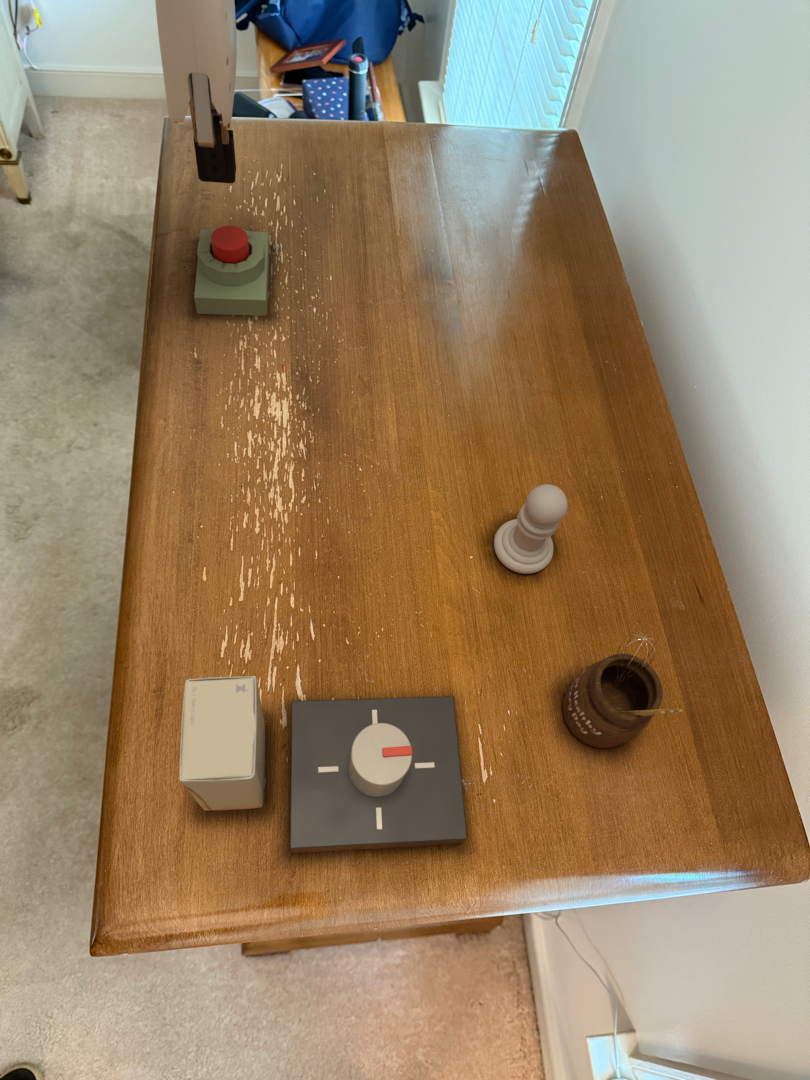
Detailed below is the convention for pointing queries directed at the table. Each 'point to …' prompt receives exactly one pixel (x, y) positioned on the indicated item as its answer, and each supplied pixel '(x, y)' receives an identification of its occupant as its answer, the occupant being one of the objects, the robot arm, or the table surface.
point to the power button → (230, 244)
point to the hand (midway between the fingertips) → (217, 176)
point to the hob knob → (379, 759)
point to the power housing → (233, 279)
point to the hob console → (353, 817)
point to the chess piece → (532, 531)
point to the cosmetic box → (223, 743)
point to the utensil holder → (613, 699)
